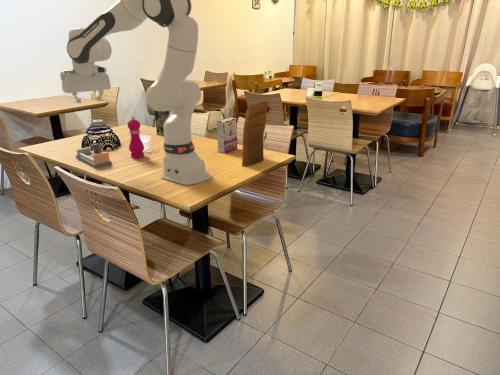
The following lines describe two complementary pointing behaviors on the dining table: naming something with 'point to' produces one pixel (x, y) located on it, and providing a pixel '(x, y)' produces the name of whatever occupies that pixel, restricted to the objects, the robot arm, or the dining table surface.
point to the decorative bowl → (100, 137)
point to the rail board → (97, 160)
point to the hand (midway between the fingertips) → (89, 101)
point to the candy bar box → (227, 135)
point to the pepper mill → (135, 139)
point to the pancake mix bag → (254, 134)
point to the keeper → (96, 148)
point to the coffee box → (161, 120)
